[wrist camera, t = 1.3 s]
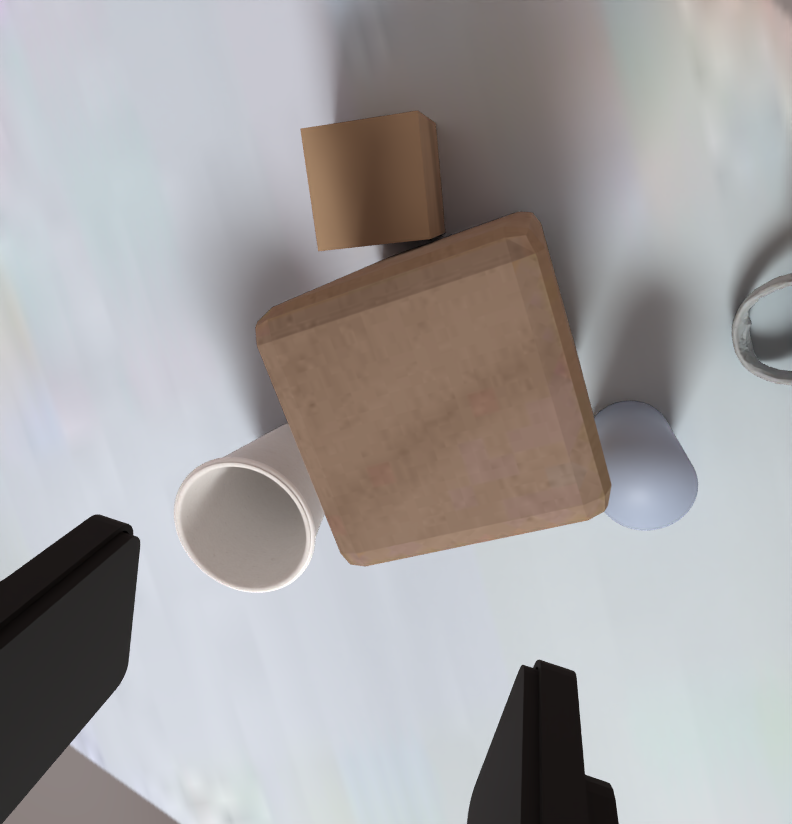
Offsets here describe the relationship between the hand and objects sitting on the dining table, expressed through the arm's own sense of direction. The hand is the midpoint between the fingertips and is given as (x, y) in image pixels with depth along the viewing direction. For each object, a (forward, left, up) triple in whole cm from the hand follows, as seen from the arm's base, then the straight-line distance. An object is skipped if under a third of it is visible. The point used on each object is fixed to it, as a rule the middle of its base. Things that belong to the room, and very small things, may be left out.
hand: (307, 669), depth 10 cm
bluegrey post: (-11, +5, -32) cm, 34 cm away
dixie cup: (+9, +13, -32) cm, 36 cm away
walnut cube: (+7, -6, -32) cm, 33 cm away
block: (0, 0, -32) cm, 32 cm away
